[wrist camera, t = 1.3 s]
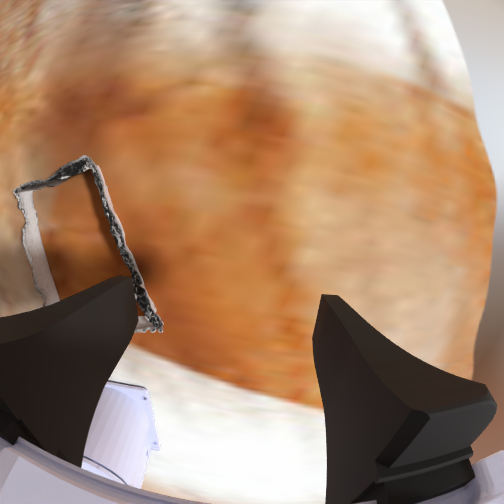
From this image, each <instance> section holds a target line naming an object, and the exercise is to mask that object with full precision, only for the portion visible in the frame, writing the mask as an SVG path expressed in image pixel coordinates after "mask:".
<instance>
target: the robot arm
mask: <svg viewBox="0 0 504 504" xmlns="http://www.w3.org/2000/svg"><path fill="white" fill-rule="evenodd" d="M138 321H139V318H138V312H137V306H136V299H135V292H134V285H133V277H127V276H120V275H119V276H116V277H113V278H110V279H108V280H105V281H103V282H101V283H99V284H97V285H94V286H92V287H90V288H88V289H86V290H84V291H81V292H79V293H77V294H75V295H72V296H70V297H68V298H65V299H63V300H61V301H59V302H56V303H53V304H51V305H48V306H45V307H42V308H39V309H36V310H33V311H29V312H25V313H20V314H16V315H12V316H7V317H1V318H0V504H209V503H202V502H196V501H190V500H185V499H180V498H175V497H170V496H166V495H161V494H157V493H153V492H150V491H146V490H142V489H141V487H142V483H143V479H144V475H145V471H146V467H147V463H148V460H149V456H150V452H151V450H156V451H158V450H160V449H161V445H160V441H159V437H158V433H157V428H156V424H155V419H154V414H153V409H152V404H151V399H150V394H149V391H148V390H147V389H145V388H140V387H134V386H128V385H123V384H118V383H113V382H108V379H109V377H110V376H111V374H112V372H113V370H114V369H115V367H116V365H117V363H118V362H119V360H120V358H121V357H122V355H123V353H124V351H125V350H126V348H127V346H128V344H129V343H130V341H131V339H132V336H133V334H134V332H135V329H136V327H137V324H138ZM312 341H313V355H314V363H315V368H316V373H317V378H318V383H319V387H320V392H321V397H322V402H323V407H324V414H325V425H326V445H327V486H326V503H325V504H504V451H503V450H501V451H499V452H496V453H494V454H492V455H490V456H488V457H485V458H484V459H481V460H479V461H477V462H476V463H474V464H473V465H472V466H471V463H470V461H469V458H470V457H471V456H472V455H473V451H472V448H471V446H470V445H471V444H472V443H473V442H474V441H475V440H476V438H478V436H479V435H480V434H481V433H482V432H483V431H484V430H485V429H486V427H487V426H488V425H489V423H490V422H491V421H492V419H493V417H494V415H495V413H496V410H497V404H496V402H495V400H494V399H493V397H492V395H491V393H490V392H489V390H488V388H487V387H486V385H485V384H482V383H478V382H474V381H471V380H468V379H465V378H461V377H458V376H455V375H453V374H450V373H448V372H445V371H443V370H441V369H438V368H436V367H434V366H432V365H430V364H428V363H426V362H424V361H422V360H420V359H418V358H417V357H415V356H413V355H411V354H410V353H408V352H406V351H405V350H403V349H402V348H400V347H399V346H397V345H396V344H394V343H393V342H391V341H390V340H389V339H387V338H386V337H385V336H384V335H382V334H381V333H380V332H379V331H377V330H376V329H375V328H374V327H372V326H371V325H370V324H369V323H368V322H367V321H366V320H364V319H363V318H362V317H361V316H360V315H359V314H358V313H357V312H356V311H355V310H354V309H353V308H351V307H350V306H349V305H348V304H347V303H346V302H345V301H344V300H343V299H342V298H340V297H339V296H338V295H325V294H322V295H321V300H320V305H319V310H318V314H317V319H316V324H315V328H314V333H313V337H312ZM143 396H144V397H143ZM145 397H146V398H145Z"/></svg>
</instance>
